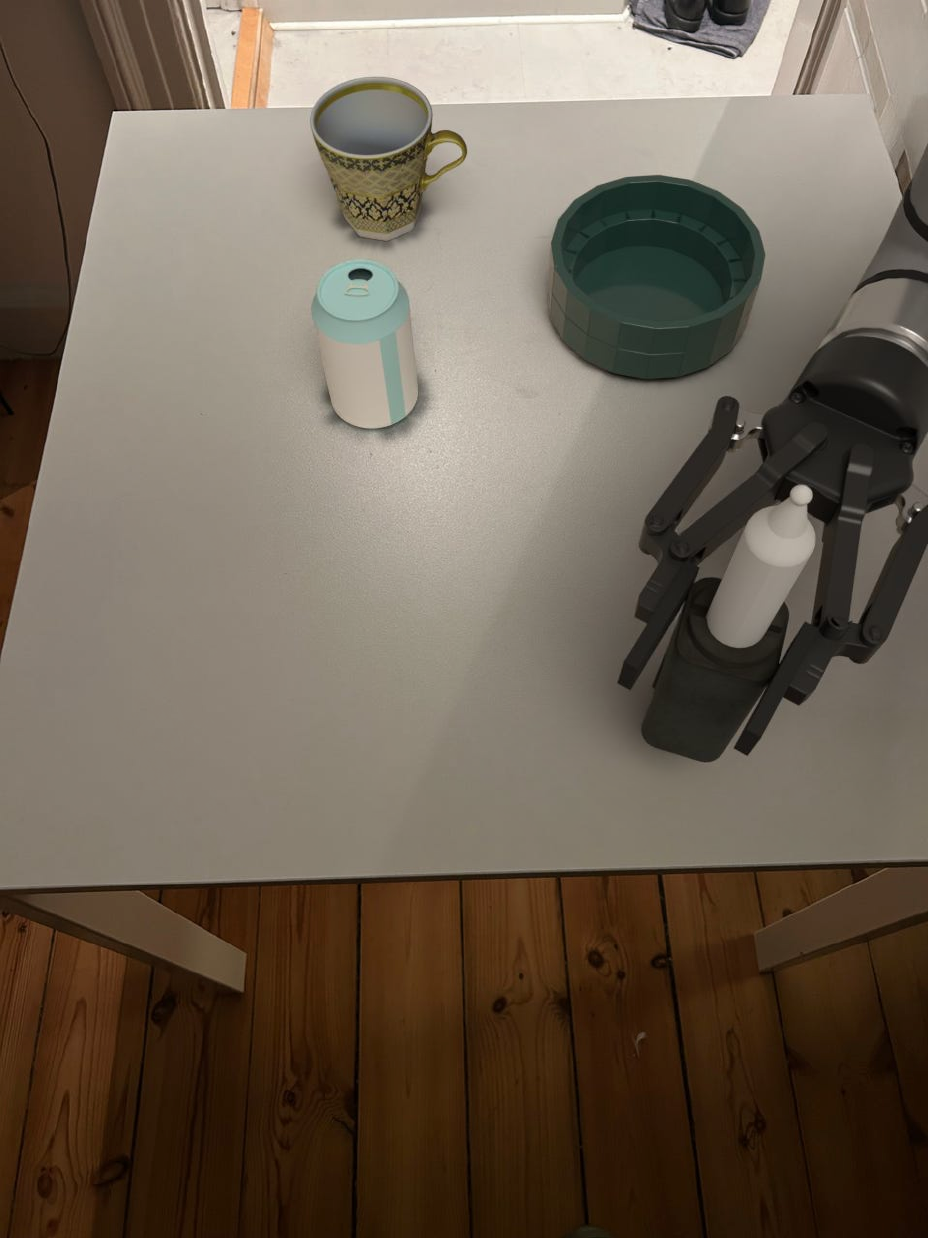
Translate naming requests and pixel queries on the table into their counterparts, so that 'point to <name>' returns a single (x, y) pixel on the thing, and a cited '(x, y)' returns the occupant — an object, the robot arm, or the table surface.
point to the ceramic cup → (378, 152)
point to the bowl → (653, 275)
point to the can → (366, 343)
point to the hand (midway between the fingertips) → (686, 708)
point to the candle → (730, 636)
